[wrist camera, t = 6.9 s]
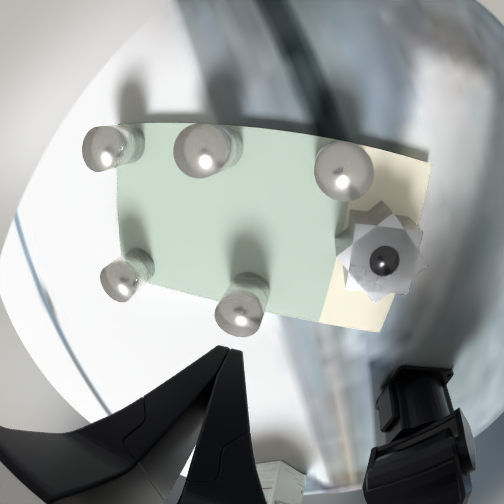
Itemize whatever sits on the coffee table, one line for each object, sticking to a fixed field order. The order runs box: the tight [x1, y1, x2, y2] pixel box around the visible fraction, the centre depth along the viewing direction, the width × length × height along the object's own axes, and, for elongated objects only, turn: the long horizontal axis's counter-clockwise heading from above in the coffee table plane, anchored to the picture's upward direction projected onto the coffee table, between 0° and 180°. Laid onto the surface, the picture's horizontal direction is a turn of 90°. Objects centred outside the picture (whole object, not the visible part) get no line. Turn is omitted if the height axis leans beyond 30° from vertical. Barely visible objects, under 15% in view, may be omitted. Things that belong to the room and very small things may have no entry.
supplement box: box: [255, 460, 306, 504], centre depth 29 cm, size 7×7×13 cm
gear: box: [334, 200, 428, 304], centre depth 16 cm, size 6×6×3 cm
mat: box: [117, 123, 432, 332], centre depth 19 cm, size 22×13×1 cm, turn 84°
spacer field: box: [82, 123, 374, 337], centre depth 18 cm, size 18×13×4 cm
